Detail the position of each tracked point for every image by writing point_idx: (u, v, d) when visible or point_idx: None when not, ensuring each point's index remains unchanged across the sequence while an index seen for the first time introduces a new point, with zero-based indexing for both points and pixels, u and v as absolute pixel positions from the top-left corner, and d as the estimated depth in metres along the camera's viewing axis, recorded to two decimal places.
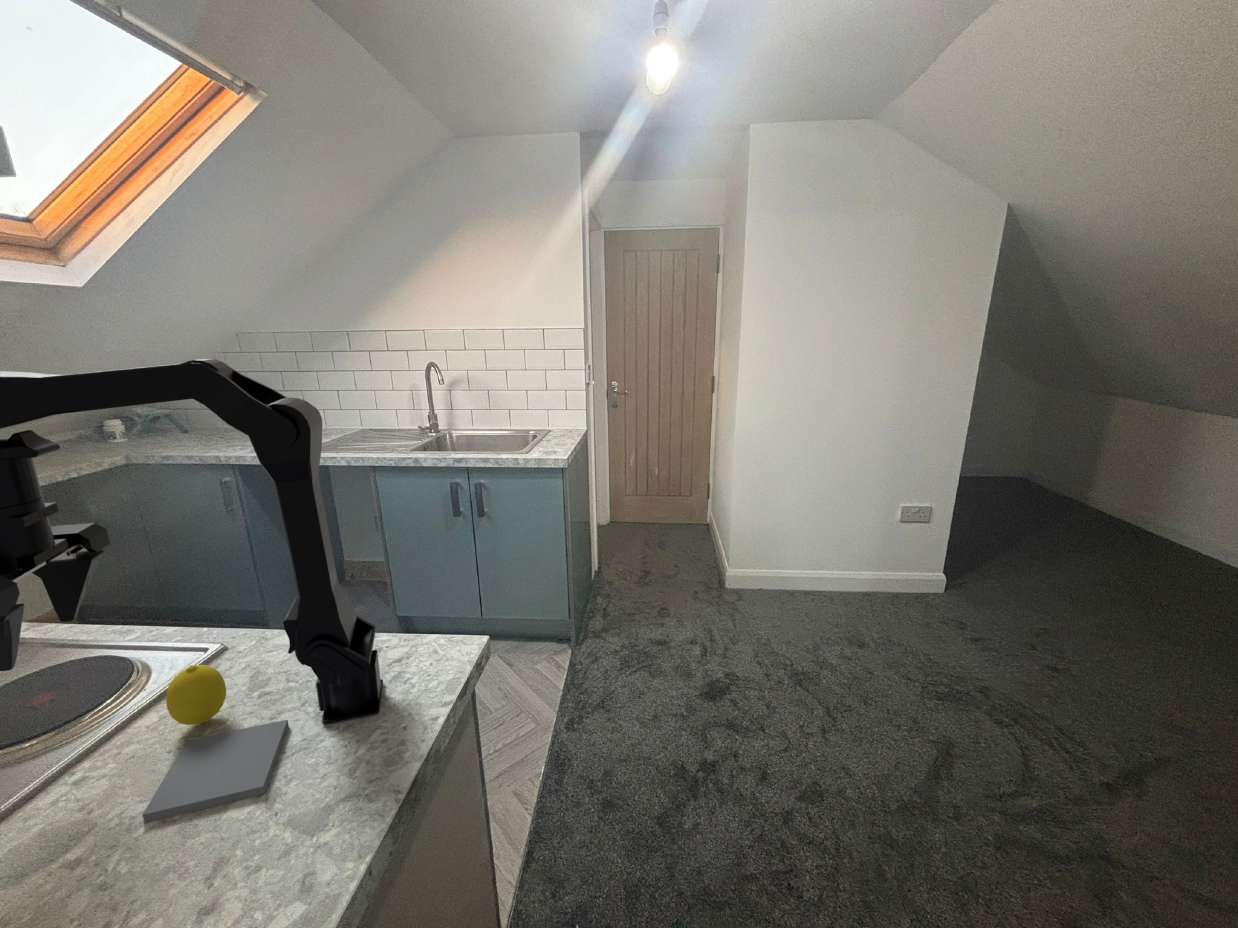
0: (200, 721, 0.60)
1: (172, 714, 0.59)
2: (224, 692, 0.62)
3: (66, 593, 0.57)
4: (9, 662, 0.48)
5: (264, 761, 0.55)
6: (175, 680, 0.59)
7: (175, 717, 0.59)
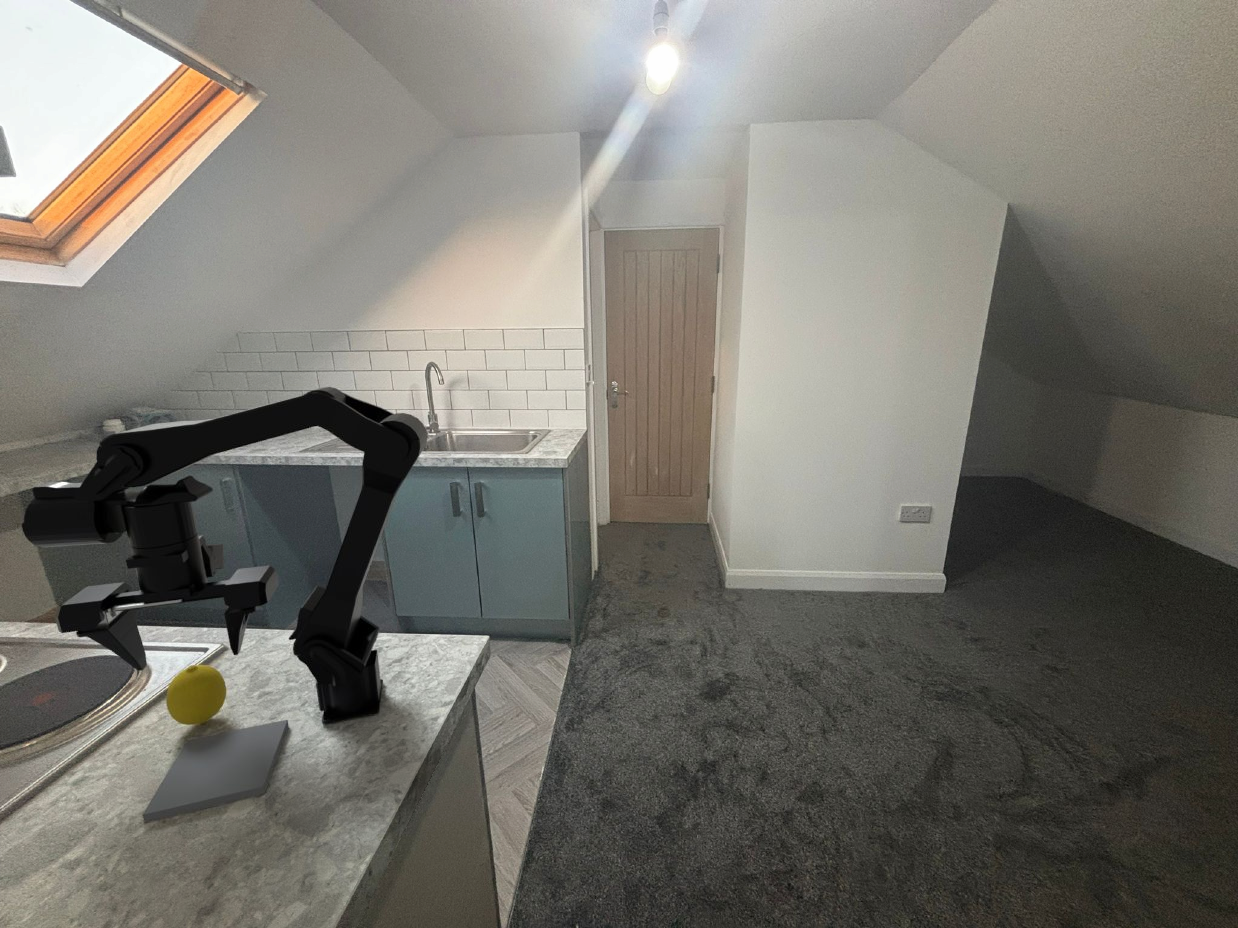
0: (200, 721, 0.60)
1: (172, 714, 0.59)
2: (224, 692, 0.62)
3: None
4: None
5: (264, 761, 0.55)
6: (175, 680, 0.59)
7: (175, 717, 0.59)
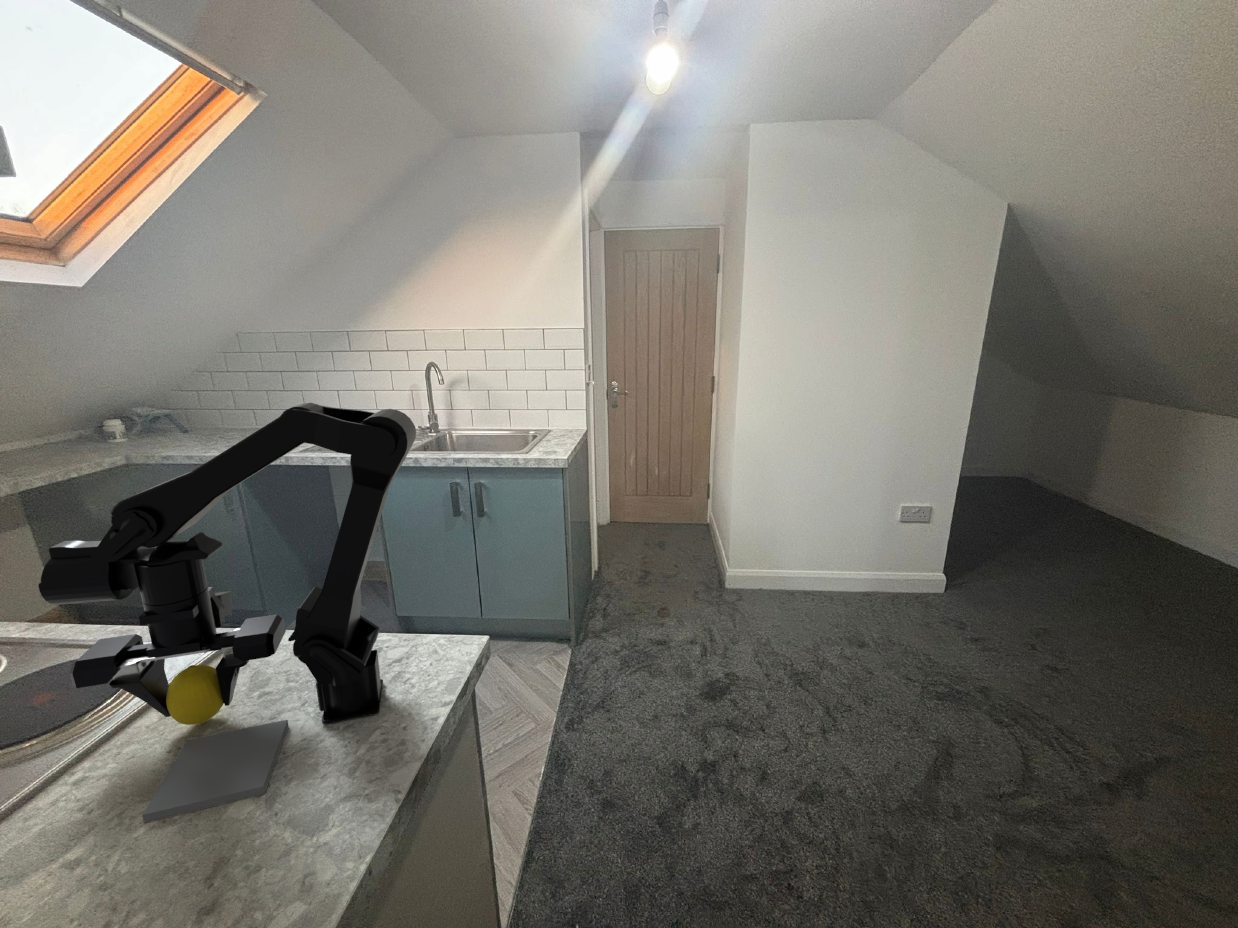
0: (200, 721, 0.60)
1: (172, 714, 0.59)
2: None
3: None
4: None
5: (264, 761, 0.55)
6: (175, 680, 0.59)
7: (175, 717, 0.59)
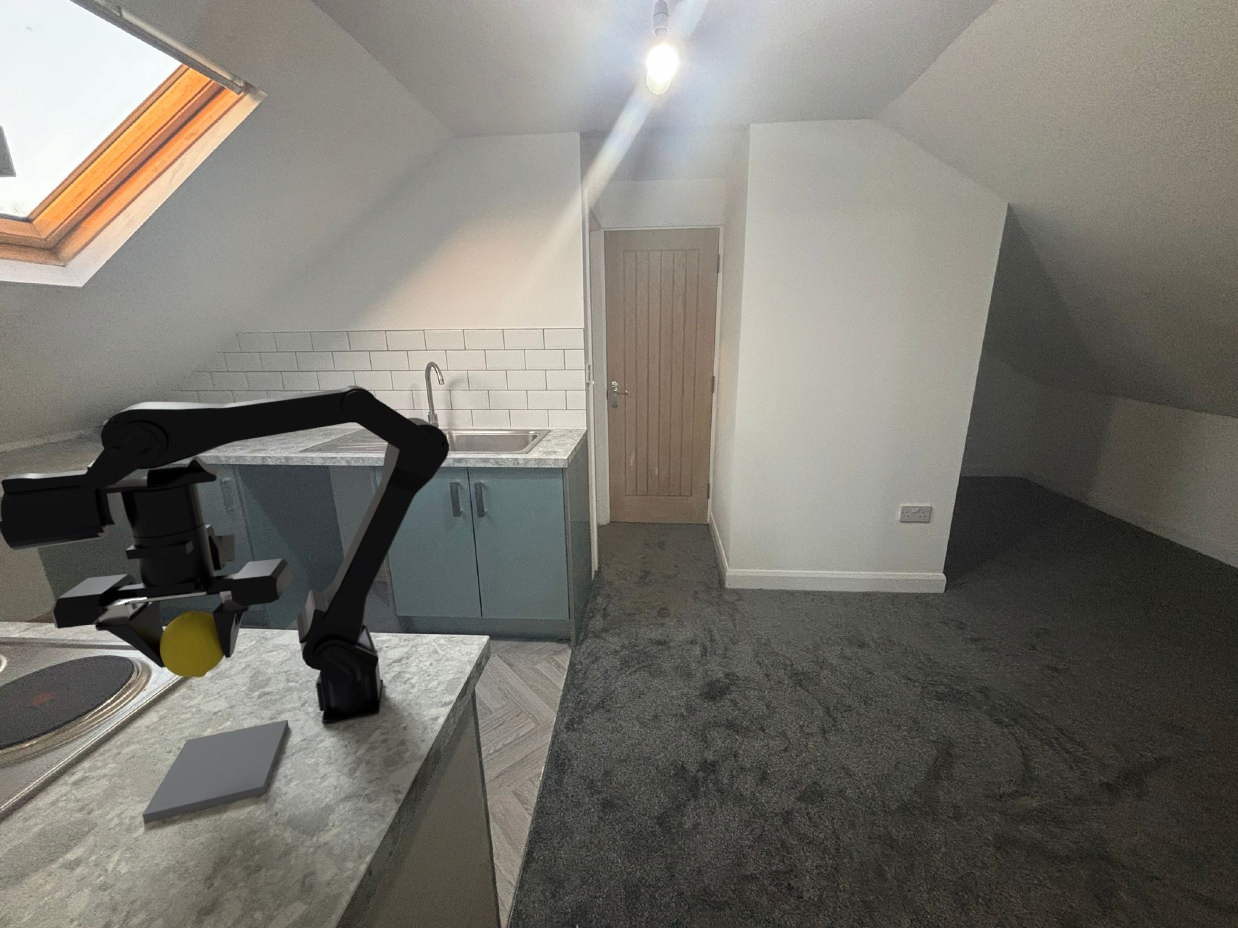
0: (197, 673, 0.54)
1: (166, 664, 0.52)
2: None
3: None
4: None
5: (264, 761, 0.55)
6: (169, 626, 0.53)
7: (169, 667, 0.53)
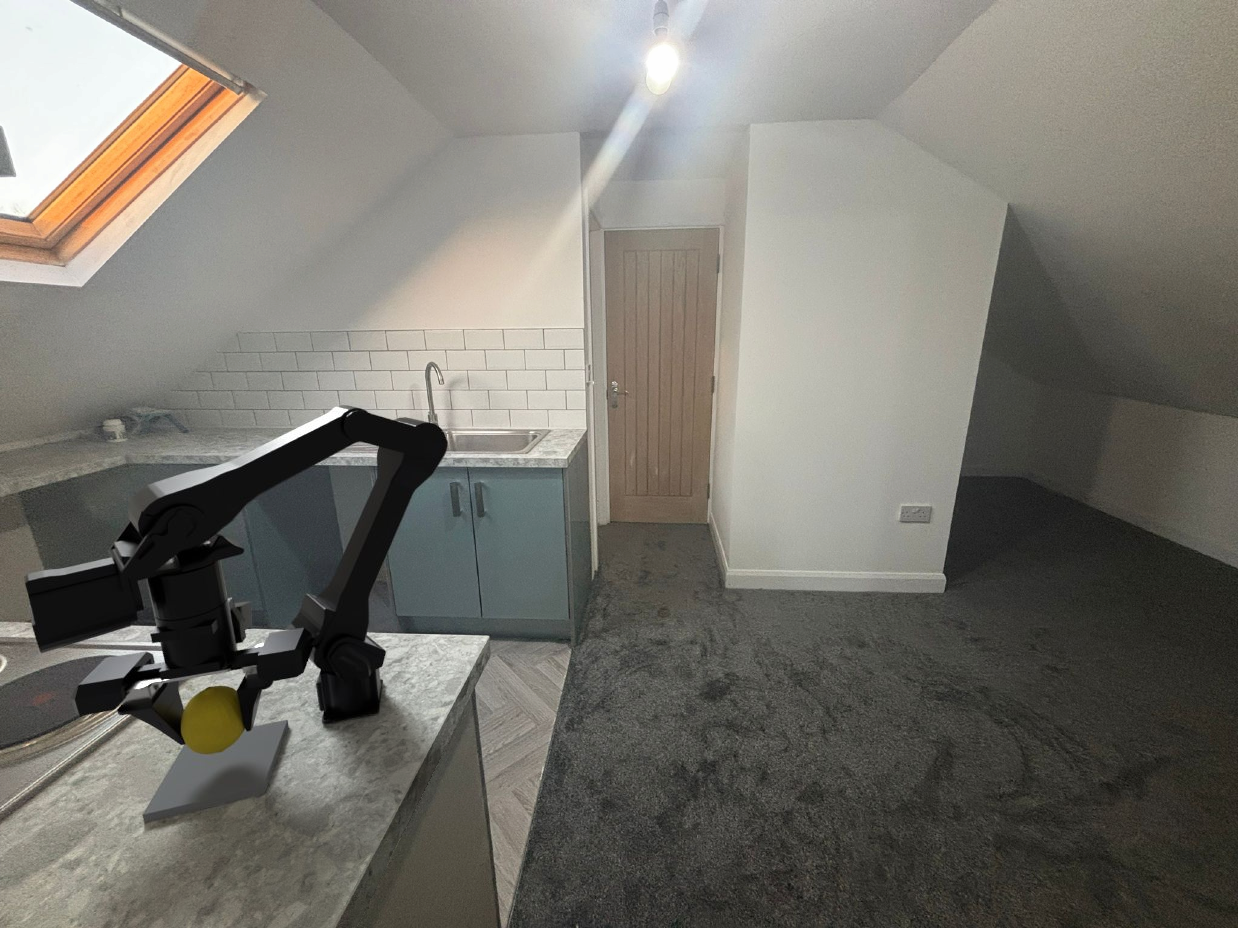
0: (219, 750, 0.53)
1: (188, 743, 0.52)
2: None
3: None
4: None
5: (264, 761, 0.55)
6: (191, 704, 0.52)
7: (191, 746, 0.52)
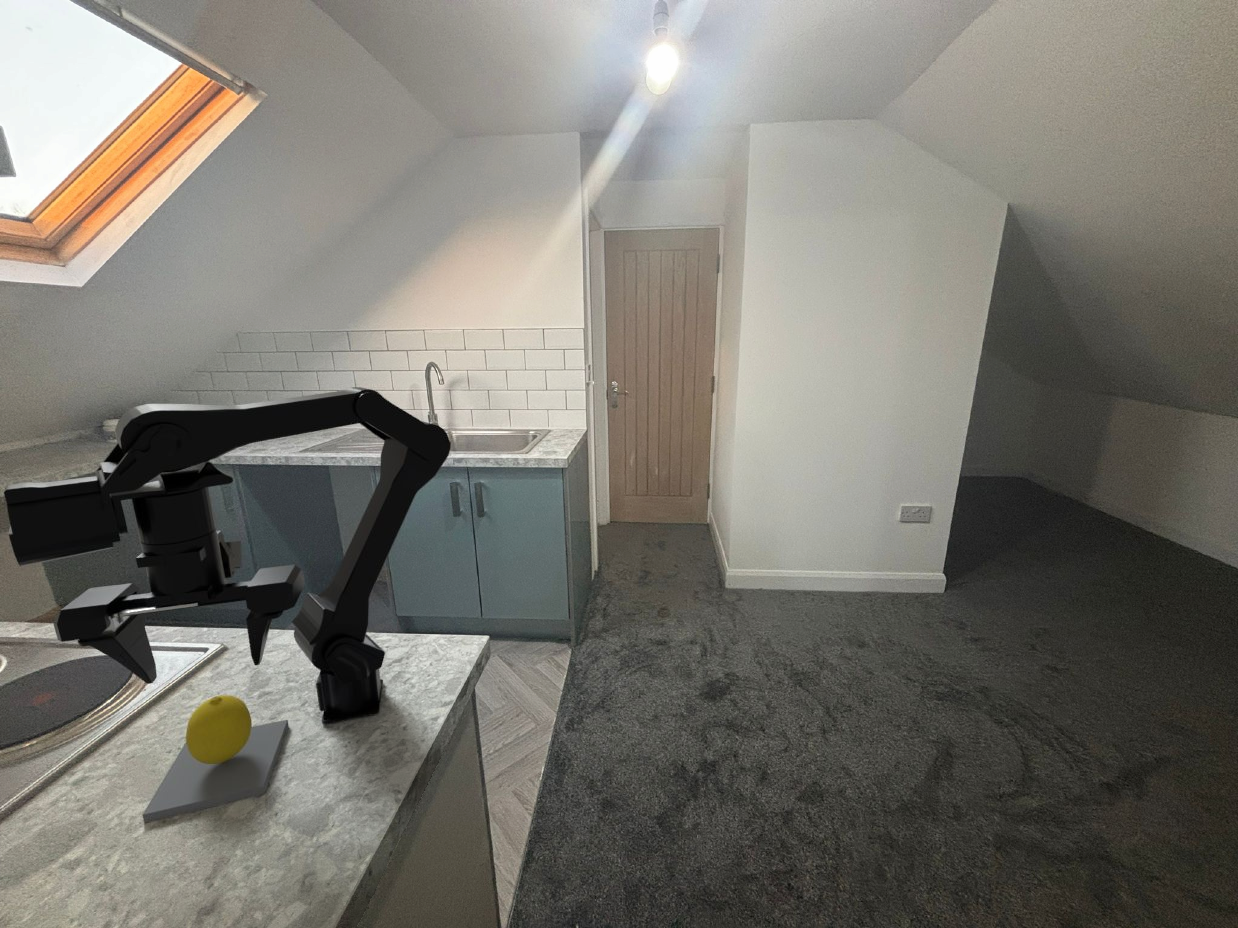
0: (223, 760, 0.53)
1: (192, 752, 0.52)
2: (250, 726, 0.56)
3: None
4: None
5: (264, 761, 0.55)
6: (197, 713, 0.53)
7: (196, 756, 0.52)
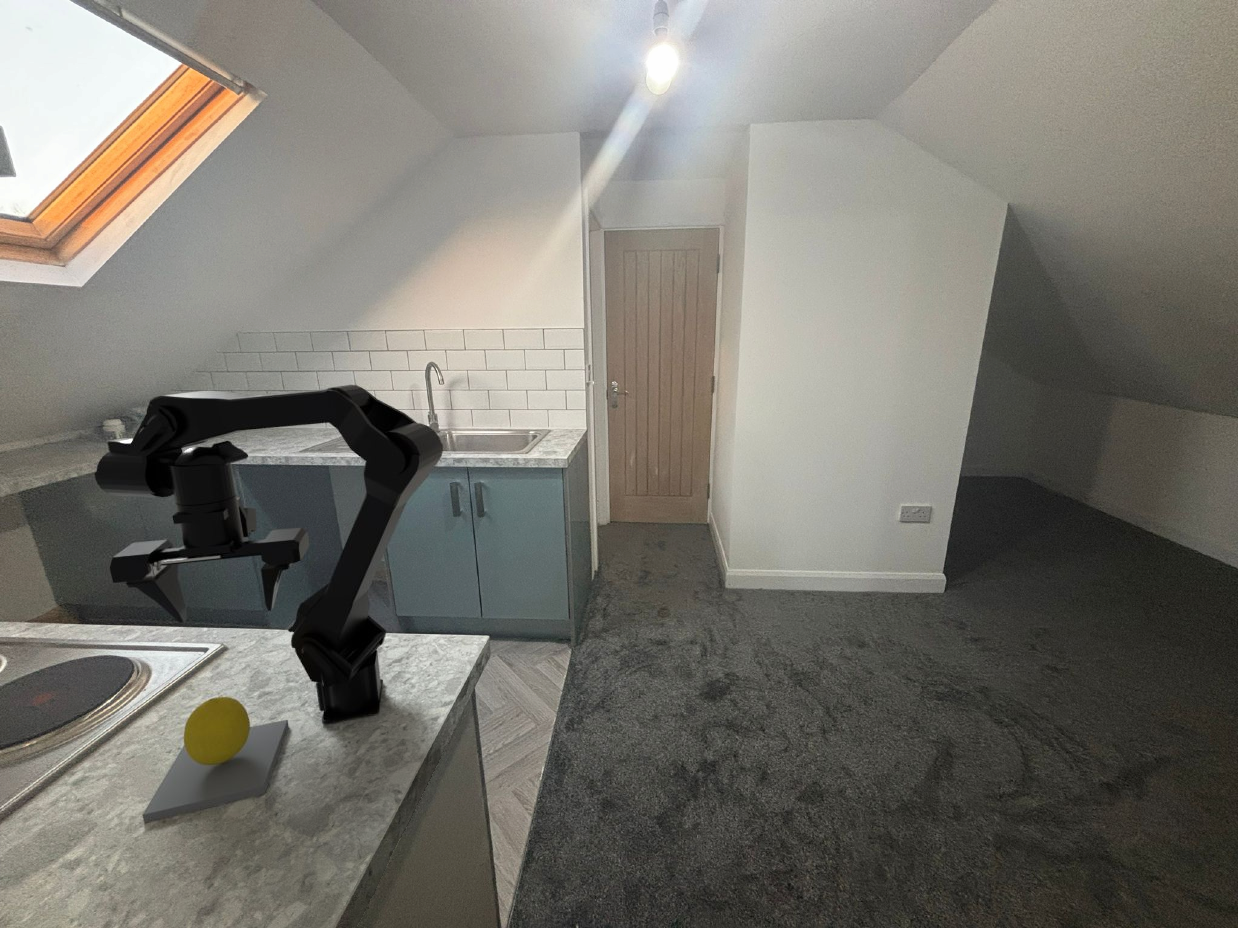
0: (222, 761, 0.53)
1: (191, 755, 0.52)
2: (248, 727, 0.55)
3: None
4: None
5: (264, 761, 0.55)
6: (194, 716, 0.52)
7: (195, 758, 0.52)
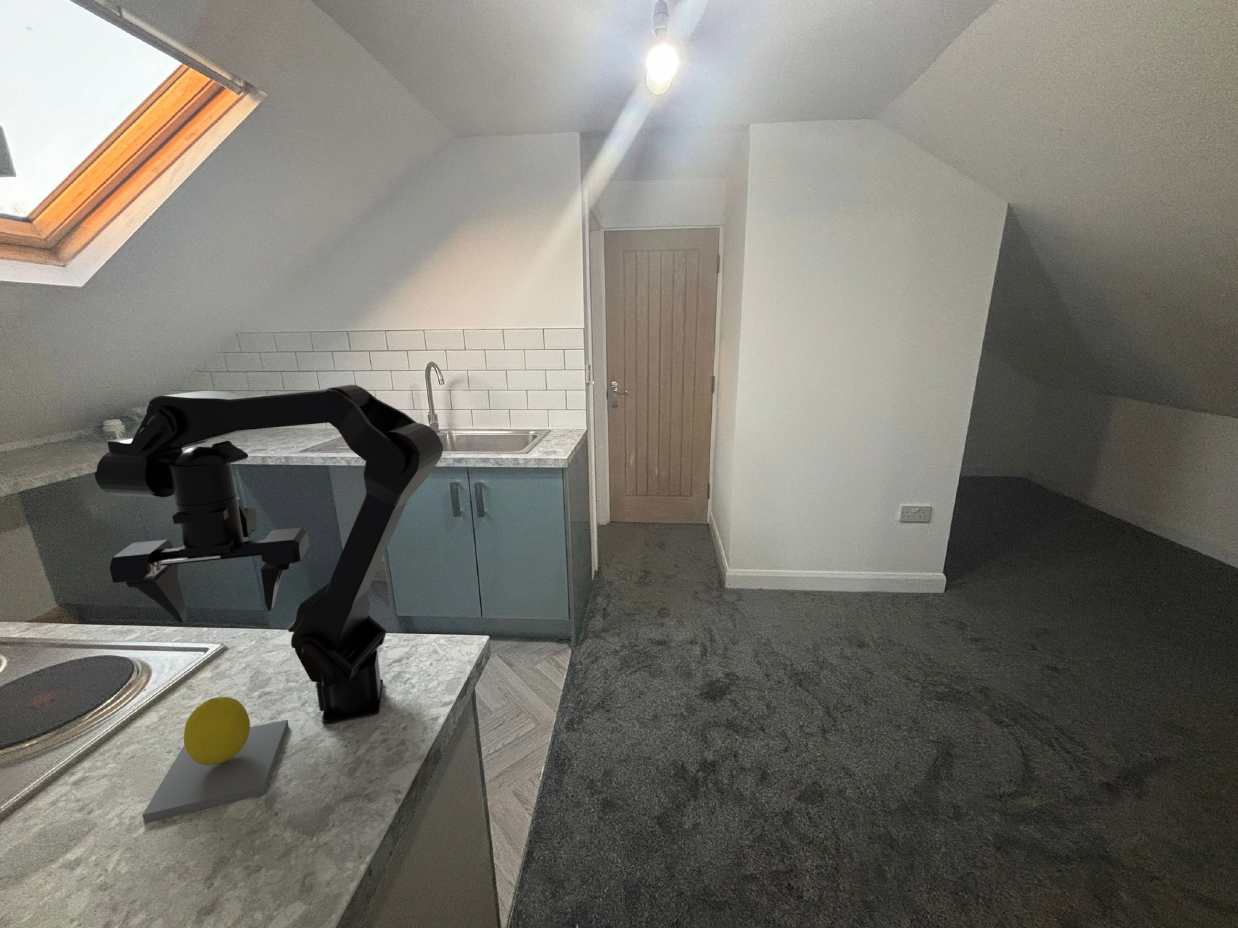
0: (223, 761, 0.53)
1: (191, 755, 0.52)
2: (248, 726, 0.55)
3: None
4: (175, 617, 0.61)
5: (264, 761, 0.55)
6: (194, 716, 0.52)
7: (195, 758, 0.52)
